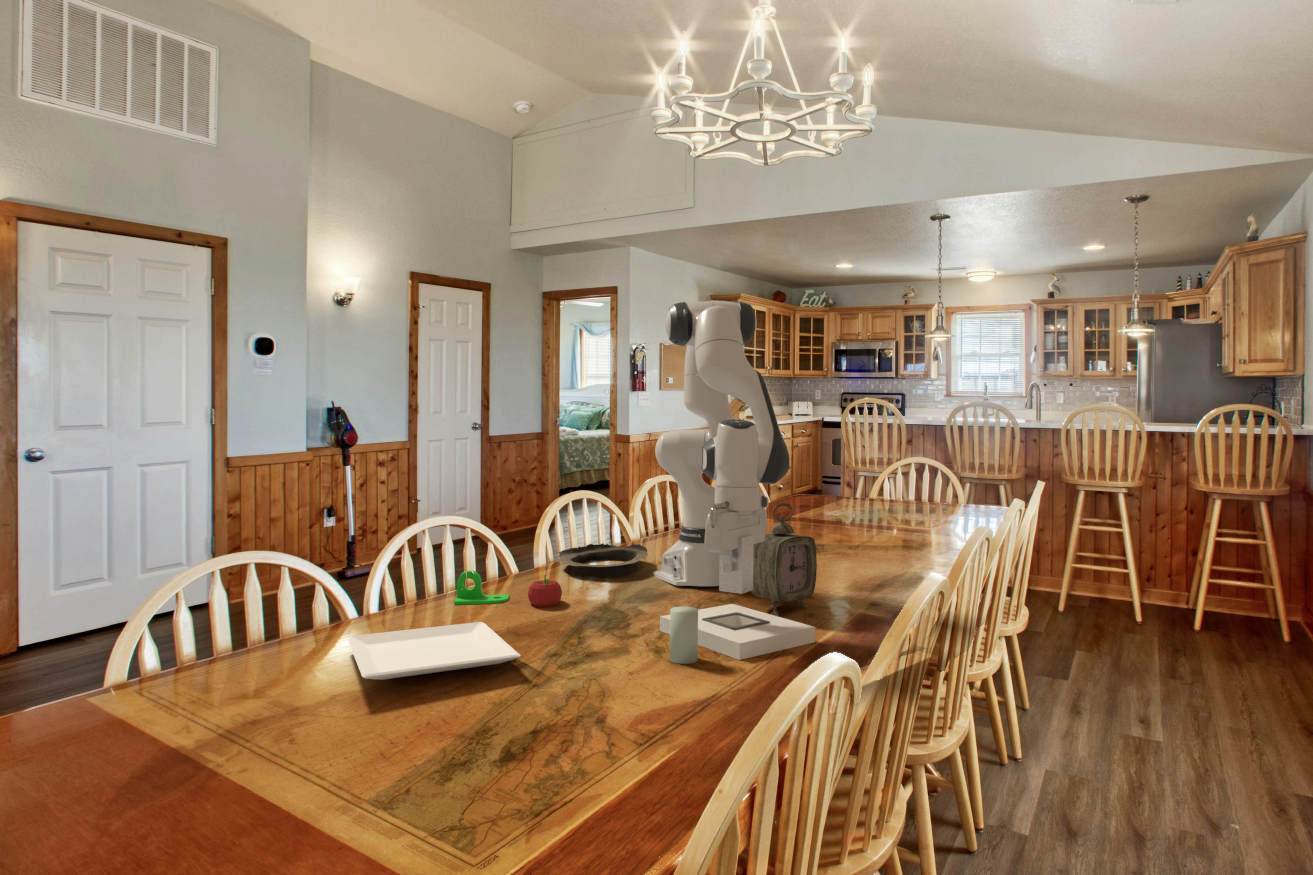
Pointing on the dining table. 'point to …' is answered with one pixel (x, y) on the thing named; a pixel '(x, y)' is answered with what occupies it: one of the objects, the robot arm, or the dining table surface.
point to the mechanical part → (475, 592)
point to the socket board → (746, 631)
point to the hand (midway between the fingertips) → (736, 569)
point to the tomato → (544, 593)
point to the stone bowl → (603, 553)
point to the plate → (428, 650)
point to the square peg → (739, 568)
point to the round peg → (684, 635)
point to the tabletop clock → (784, 564)
